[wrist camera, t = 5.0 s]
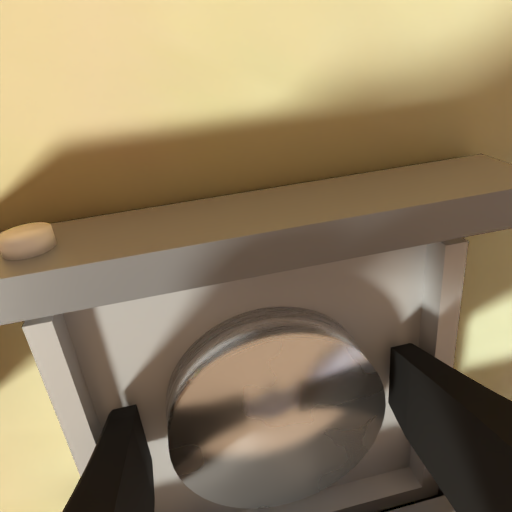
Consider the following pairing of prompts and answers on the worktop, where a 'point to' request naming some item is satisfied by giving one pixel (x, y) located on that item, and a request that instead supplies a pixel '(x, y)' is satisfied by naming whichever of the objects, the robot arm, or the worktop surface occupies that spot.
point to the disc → (271, 408)
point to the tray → (251, 299)
